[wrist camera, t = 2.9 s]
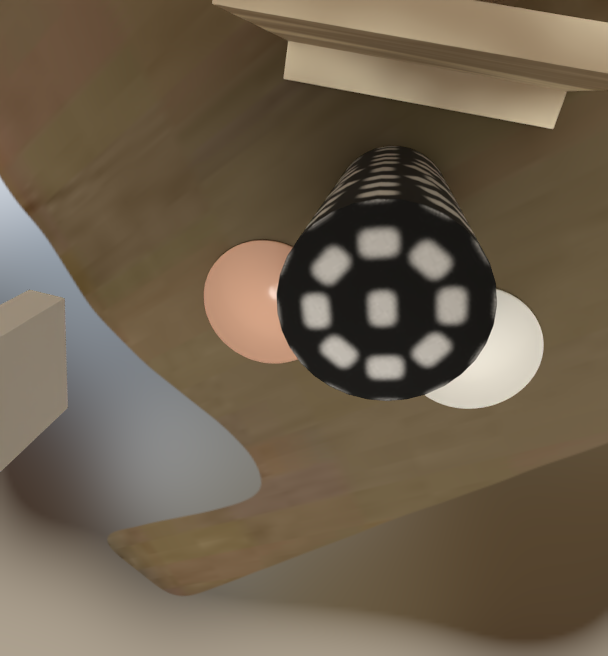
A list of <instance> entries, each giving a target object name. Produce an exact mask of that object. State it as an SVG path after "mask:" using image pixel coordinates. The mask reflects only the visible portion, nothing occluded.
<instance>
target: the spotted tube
mask: <svg viewBox="0 0 608 656" xmlns="http://www.w3.org/2000/svg"><path fill="white" fill-rule="evenodd" d="M496 308H497V295H496V283H495V279H494V276H493V273H492V269H491V266H490V263H489V261H488V259H487V257H486V255H485V254H484V252H483V250H482V248H481V246H480V244H479V242H478V241H477V239H476V237H475V235H474V233H473V231H472V230H471V228H470V226H469V224H468V222H467V220H466V218H465V217H464V215H463V213H462V211H461V209H460V207H459V206H458V204H457V202H456V200H455V198H454V196H453V194H452V193H451V191H450V189H449V187H448V185H447V183H446V182H445V180H444V178H443V176H442V174H441V173H440V171H439V169H438V168H437V167H436V165H435V164H434V163H433V162H432V161H431V160H430V159H429V158H427V157H426V156H425V155H423V154H422V153H420V152H418V151H415V150H413V149H411V148H406V147H401V146H386V147H381V148H376V149H374V150H371V151H369V152H367V153H365V154H363V155H362V156H360V157H359V158H357V159H356V160H355V161H354V162H353V163H352V164H351V165H350V166H349V167H348V168H347V169H346V171H345V172H344V174H343V175H342V177H341V178H340V180H339V181H338V182H337V184H336V185H335V187H334V188H333V190H332V191H331V193H330V194H329V195H328V197H327V198H326V200H325V201H324V203H323V204H322V206H321V207H320V208H319V210H318V211H317V213H316V214H315V216H314V217H313V219H312V220H311V222H310V223H309V224H308V226H307V227H306V229H305V230H304V232H303V233H302V235H301V236H300V237H299V239H298V240H297V242H296V243H295V245H294V246H293V248H292V249H291V251H290V252H289V254H288V255H287V258H286V260H285V263H284V265H283V268H282V270H281V273H280V277H279V283H278V288H277V313H278V317H279V321H280V325H281V329H282V332H283V334H284V336H285V339H286V341H287V343H288V345H289V347H290V349H291V350H292V351H293V353H294V354H295V356H296V357H297V358H298V360H299V361H300V362H301V364H302V365H303V366H305V367H306V368H307V369H308V370H309V371H310V372H311V373H312V374H313V375H314V376H315V377H317V378H318V379H320V380H321V381H323V382H324V383H326V384H327V385H329V386H330V387H333V388H335V389H337V390H339V391H342V392H344V393H346V394H349V395H353V396H357V397H361V398H365V399H371V400H383V401H391V400H403V399H409V398H413V397H417V396H421V395H425V394H428V393H430V392H432V391H434V390H437V389H439V388H441V387H443V386H445V385H447V384H448V383H450V382H451V381H452V380H454V379H455V378H457V377H458V376H460V375H461V374H462V373H463V372H464V371H465V370H466V369H467V368H468V367H469V366H470V365H471V364H472V363H473V362H474V361H475V360H476V358H477V357H478V355H479V354H480V352H481V351H482V349H483V348H484V346H485V345H486V343H487V341H488V338H489V336H490V333H491V331H492V328H493V325H494V320H495V314H496Z"/></svg>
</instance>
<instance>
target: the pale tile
mask: <svg viewBox="0 0 608 656" xmlns="http://www.w3.org/2000/svg"><path fill="white" fill-rule="evenodd" d="M496 295H497V308H496V314H495V320H494V325H493V328H492V331H491V333H490V336H489V338H488V341H487V343H486V345H485V346H484V348H483V349H482V351H481V352H480V354H479V355H478V357H477V358H476V360H475V361H474V362H473V363H472V364H471V365H470V366H469V367H468V368H467V369H466V370H465V371H464V372H463V373H462V374H461V375H460V376H458V377H457V378H455V379H454V380H452V381H451V382H450V383H448V384H447V385H445V386H443V387H441V388H439V389H437V390H434V391H432V392H430V393H428V394H425V396H427V397H428V398H430V399H432V400H434V401H436V402H438V403H441V404H443V405H447V406H450V407H456V408H466V409H470V408H482V407H487V406H491V405H495V404H497V403H500V402H503V401H505V400H507V399H509V398H510V397H512V396H514V395H515V394H517V393H518V392H519V391H520V390H522V389H523V388H524V387H525V386H526V385H527V384H528V383H529V382H530V380H531V379H532V378H533V376H534V375H535V373H536V371H537V369H538V367H539V365H540V362H541V359H542V355H543V335H542V331H541V328H540V325H539V323H538V321H537V319H536V317H535V316H534V314H533V313H532V311H531V310H530V309H529V308H528V307H527V306H526V305H525V304H524V303H523V302H522V301H521V300H519V299H518V298H517V297H515V296H513V295H512V294H510V293H508V292H505V291H503V290H500V289H497V288H496Z"/></svg>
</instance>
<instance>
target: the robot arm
mask: <svg viewBox="0 0 608 656" xmlns="http://www.w3.org/2000/svg"><path fill="white" fill-rule="evenodd" d="M67 408H68V402H67V367H66V332H65V299H64V298H62V297H58V296H53V295H49V294H45V293H41V292H37V291H33V290H28V291H26V292H24V293H22V294H20V295H18V296H17V297H15V298H13V299H11V300H9V301H7V302H5V303H3V304H1V305H0V471H2V470H3V469H4V468H5V467H6V466H7V465H8V464H9V463H10V462H11V461H12V460H13V459H14V458H15V457H16V456H17V455H18V454H20V452H22V451H23V450H24V449H25V448H26V447H27V446H28V445H29V444H30V443H31V442H32V441H33V440H34V439H35V438H36V437H37V436H38V435H39V434H41V433H42V432H43V431H44V430H45V429H46V428H47V427H48V426H49V425H50V424H51V423H52V422H53V421H54V420H55V419H56V418H57V417H58V416H59V415H61V414H62V413H63V412H64V411H65V410H66V409H67Z"/></svg>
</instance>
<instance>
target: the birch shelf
mask: <svg viewBox="0 0 608 656" xmlns="http://www.w3.org/2000/svg"><path fill="white" fill-rule="evenodd" d="M212 4H214V5H216V6H218V7H220V8H222V9H224V10H226V11H228V12H230V13H232V14H234V15H236V16H238V17H240V18H242V19H244V20H246V21H248V22H251V23H253V24H255V25H257V26H259V27H261V28H263V29H265V30H267V31H269V32H271V33H273V34H275V35H277V36H279V37H281V38H283V39H285V40H287V41H288V48H287V55H286V63H285V70H284V78H283V79H287V80H293V81H298V82H303V83H309V84H314V85H319V86H325V87H330V88H335V89H341V90H346V91H352V92H357V93H362V94H368V95H373V96H378V97H384V98H389V99H394V100H400V101H405V102H411V103H416V104H421V105H427V106H432V107H437V108H443V109H448V110H453V111H459V112H464V113H470V114H475V115H480V116H486V117H491V118H496V119H502V120H507V121H512V122H518V123H523V124H529V125H534V126H539V127H545V128H550V129H553V128H554V126H555V123H556V120H557V117H558V115H559V112H560V109H561V106H562V104H563V101H564V98H565V95H566V93H567V91H596V90H608V23H606V22H600V21H594V20H588V19H582V18H576V17H570V16H564V15H558V14H553V13H547V12H541V11H535V10H529V9H523V8H517V7H511V6H505V5H499V4H493V3H487V2H481V1H475V0H212Z"/></svg>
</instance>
